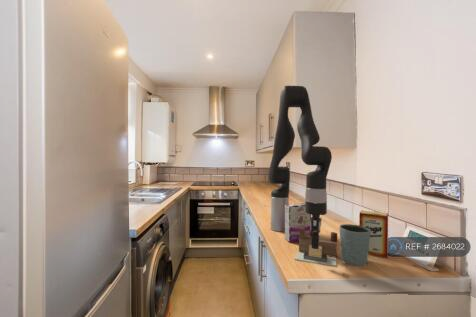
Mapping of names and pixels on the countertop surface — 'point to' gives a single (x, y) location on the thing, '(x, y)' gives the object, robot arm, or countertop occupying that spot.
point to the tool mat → (330, 260)
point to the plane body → (327, 243)
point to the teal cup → (354, 244)
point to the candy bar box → (296, 221)
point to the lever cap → (315, 254)
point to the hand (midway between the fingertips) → (315, 244)
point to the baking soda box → (376, 231)
